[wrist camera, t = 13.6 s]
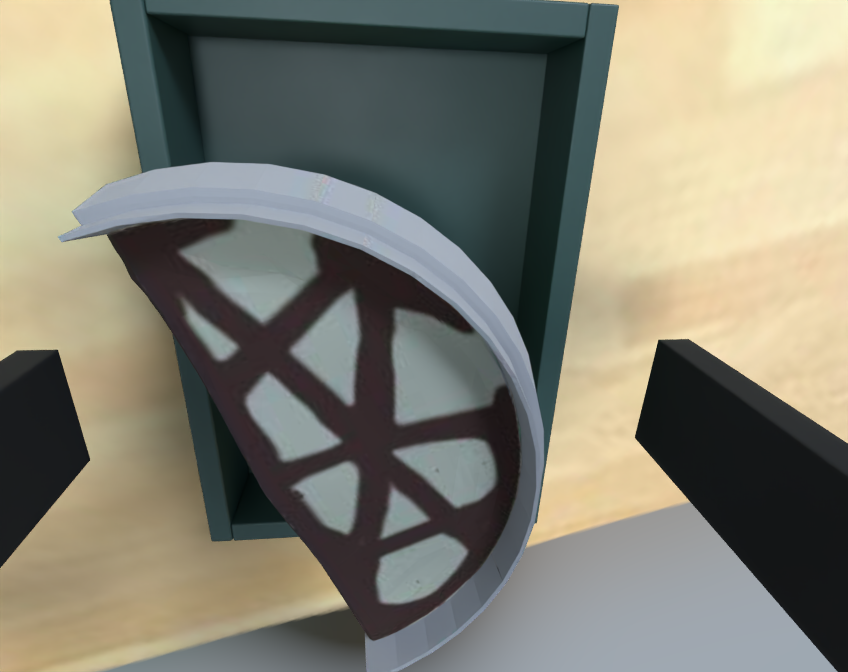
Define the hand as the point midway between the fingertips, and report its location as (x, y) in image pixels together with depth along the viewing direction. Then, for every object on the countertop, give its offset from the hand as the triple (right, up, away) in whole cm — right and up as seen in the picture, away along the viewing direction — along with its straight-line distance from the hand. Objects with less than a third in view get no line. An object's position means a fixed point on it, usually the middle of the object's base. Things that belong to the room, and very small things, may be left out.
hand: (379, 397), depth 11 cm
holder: (-1, +3, +8) cm, 8 cm away
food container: (0, +3, +7) cm, 8 cm away
